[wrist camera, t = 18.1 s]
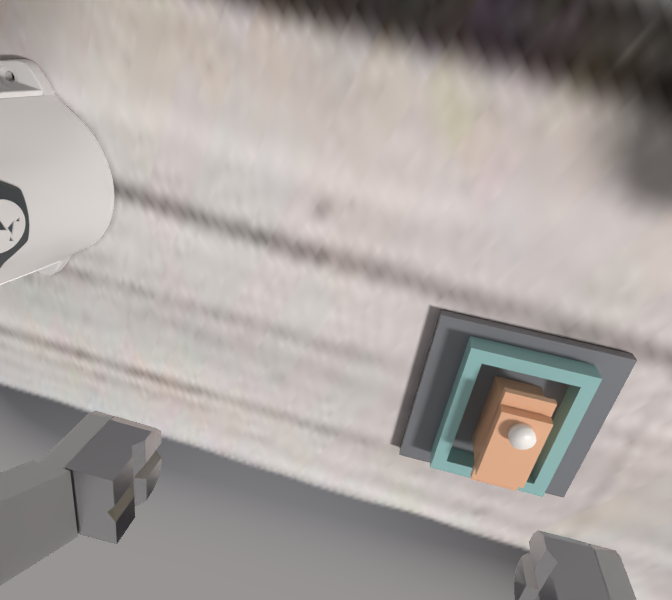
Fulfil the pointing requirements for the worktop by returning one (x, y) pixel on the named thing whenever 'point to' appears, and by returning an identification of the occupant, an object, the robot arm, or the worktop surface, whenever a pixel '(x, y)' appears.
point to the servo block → (511, 433)
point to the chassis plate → (520, 365)
